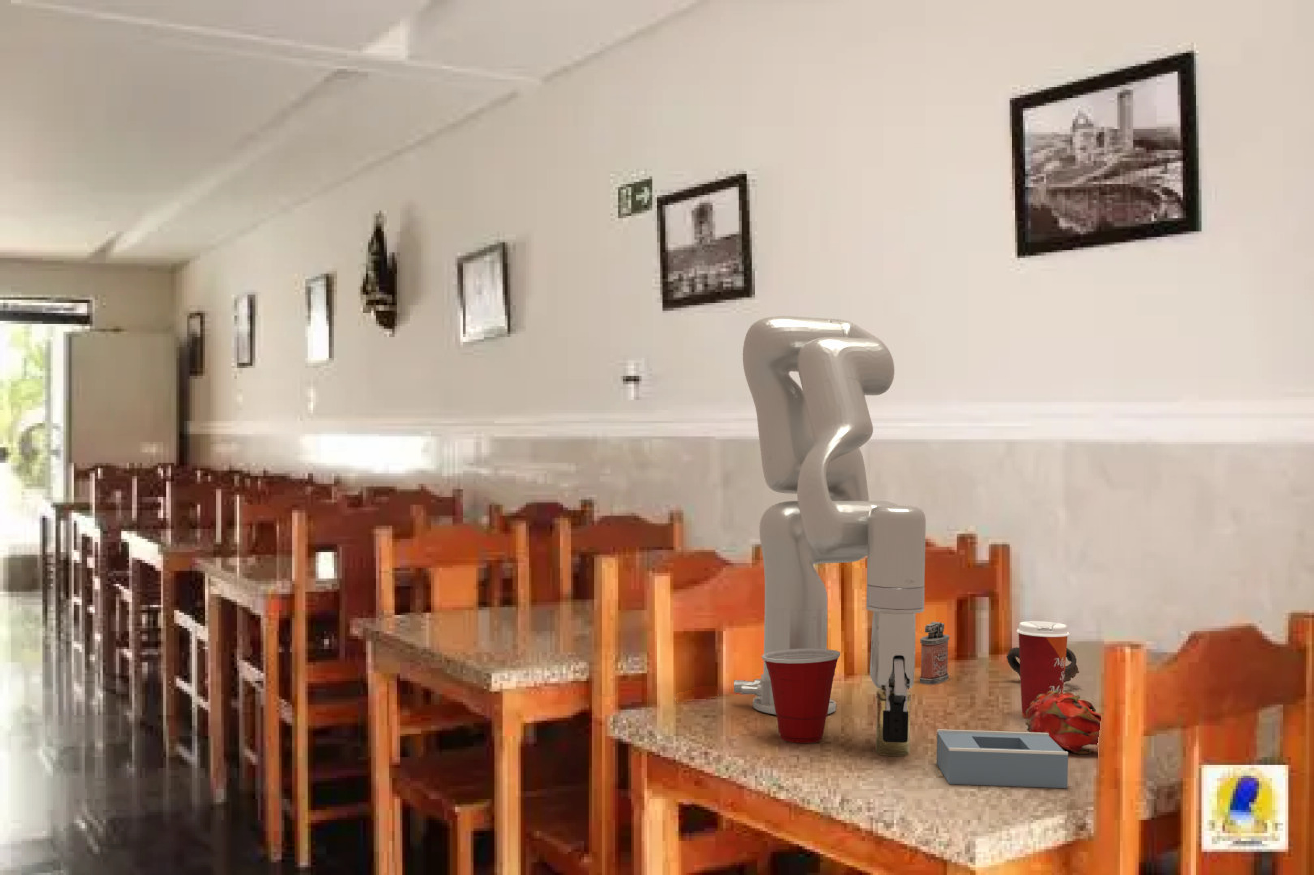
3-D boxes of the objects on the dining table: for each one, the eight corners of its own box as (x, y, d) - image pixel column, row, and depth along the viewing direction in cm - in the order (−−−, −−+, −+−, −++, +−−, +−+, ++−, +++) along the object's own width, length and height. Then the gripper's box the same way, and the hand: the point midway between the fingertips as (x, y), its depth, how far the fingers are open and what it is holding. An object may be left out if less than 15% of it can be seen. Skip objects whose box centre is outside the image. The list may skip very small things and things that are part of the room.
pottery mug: (1076, 685, 221) (1087, 648, 217) (1064, 718, 214) (1074, 680, 210) (1008, 661, 226) (1016, 625, 222) (993, 693, 219) (1002, 655, 215)
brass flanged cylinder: (877, 755, 167) (878, 694, 167) (873, 747, 172) (874, 687, 172) (911, 756, 167) (913, 695, 167) (907, 748, 172) (908, 688, 172)
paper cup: (1071, 724, 188) (1072, 628, 188) (1016, 721, 190) (1018, 626, 190) (1065, 713, 196) (1066, 621, 196) (1013, 710, 197) (1014, 619, 197)
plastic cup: (775, 726, 183) (777, 642, 183) (848, 734, 179) (850, 648, 179) (748, 742, 174) (750, 653, 174) (825, 751, 169) (826, 660, 169)
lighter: (934, 675, 225) (935, 618, 225) (952, 678, 223) (953, 620, 223) (915, 682, 218) (916, 623, 218) (933, 685, 216) (934, 626, 216)
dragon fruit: (1020, 751, 178) (1106, 779, 170) (1006, 724, 172) (1094, 752, 164) (1042, 698, 181) (1127, 723, 173) (1029, 670, 175) (1116, 695, 168)
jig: (948, 783, 154) (949, 748, 154) (936, 762, 164) (937, 729, 164) (1067, 788, 153) (1068, 752, 153) (1047, 766, 163) (1048, 733, 163)
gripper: (860, 590, 178) (858, 722, 178) (873, 606, 161) (870, 751, 161) (915, 592, 178) (913, 723, 178) (933, 608, 161) (930, 754, 161)
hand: (892, 735), depth 169 cm, fingers closed on brass flanged cylinder, 4 cm apart
